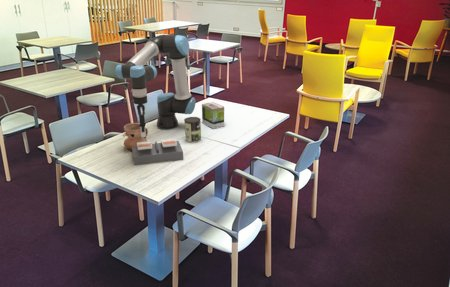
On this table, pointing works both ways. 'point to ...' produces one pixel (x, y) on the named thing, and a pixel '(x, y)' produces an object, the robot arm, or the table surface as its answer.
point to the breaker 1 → (144, 145)
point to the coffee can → (192, 129)
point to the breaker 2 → (168, 142)
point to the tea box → (213, 115)
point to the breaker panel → (157, 154)
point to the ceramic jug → (133, 135)
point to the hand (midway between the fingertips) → (143, 136)
